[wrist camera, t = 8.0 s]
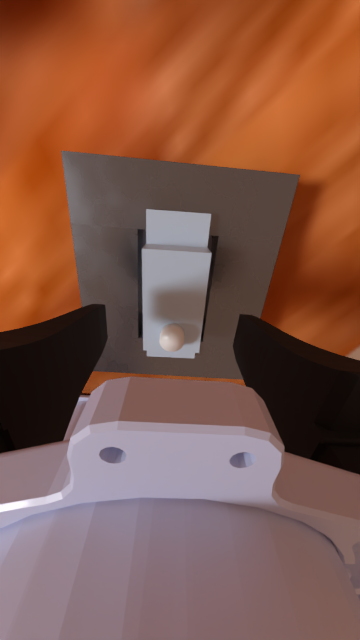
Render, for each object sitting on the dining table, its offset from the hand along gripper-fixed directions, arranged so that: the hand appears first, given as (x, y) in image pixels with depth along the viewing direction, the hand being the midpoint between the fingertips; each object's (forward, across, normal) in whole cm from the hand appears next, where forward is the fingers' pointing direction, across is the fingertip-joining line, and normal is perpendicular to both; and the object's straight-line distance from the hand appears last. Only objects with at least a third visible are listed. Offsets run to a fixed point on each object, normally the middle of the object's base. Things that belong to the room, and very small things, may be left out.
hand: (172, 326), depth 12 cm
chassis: (+8, 0, 0) cm, 8 cm away
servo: (+8, 0, 0) cm, 8 cm away
